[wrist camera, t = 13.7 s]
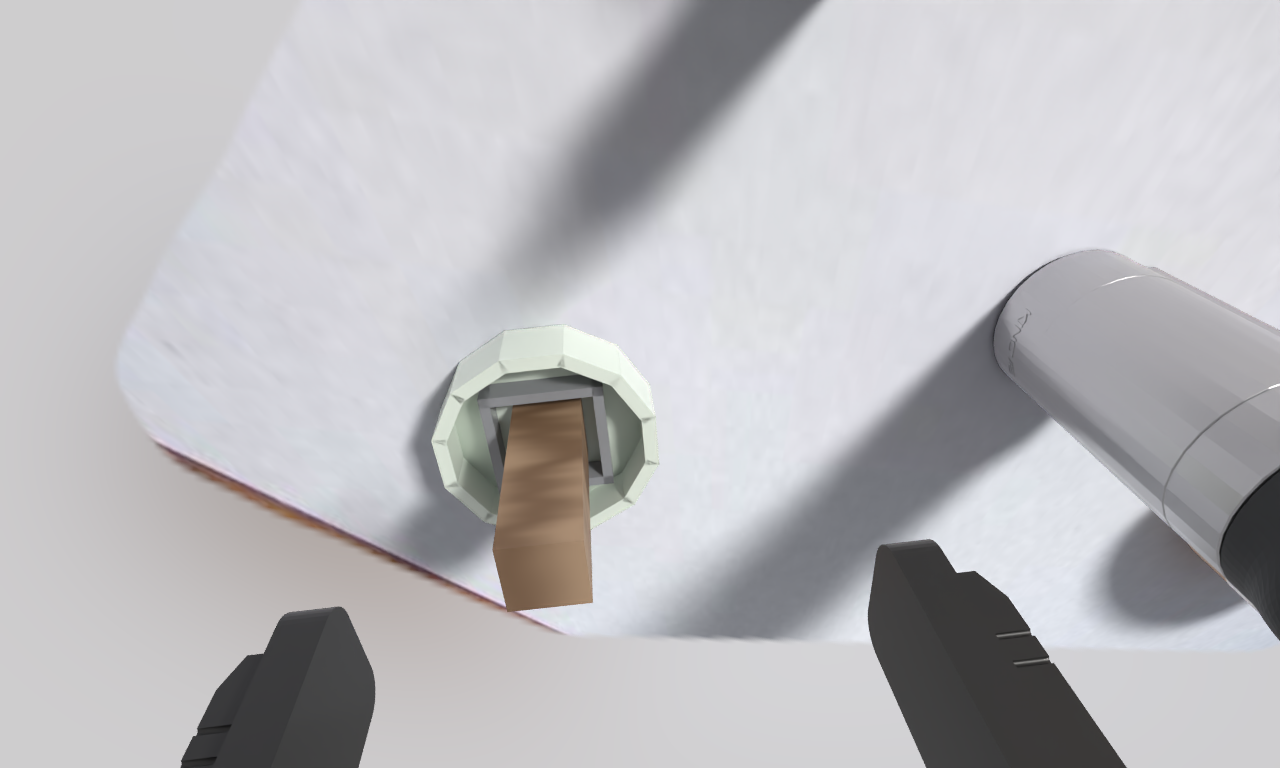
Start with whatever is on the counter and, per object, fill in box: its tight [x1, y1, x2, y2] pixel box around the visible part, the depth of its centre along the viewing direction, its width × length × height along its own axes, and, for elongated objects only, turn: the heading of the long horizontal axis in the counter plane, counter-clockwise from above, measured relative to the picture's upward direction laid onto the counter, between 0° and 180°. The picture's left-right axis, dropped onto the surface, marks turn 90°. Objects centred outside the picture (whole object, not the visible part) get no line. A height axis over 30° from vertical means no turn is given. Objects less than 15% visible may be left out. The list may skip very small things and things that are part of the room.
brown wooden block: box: [493, 398, 593, 612], centre depth 36 cm, size 4×4×12 cm
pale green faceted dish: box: [431, 325, 659, 530], centre depth 41 cm, size 13×13×4 cm
